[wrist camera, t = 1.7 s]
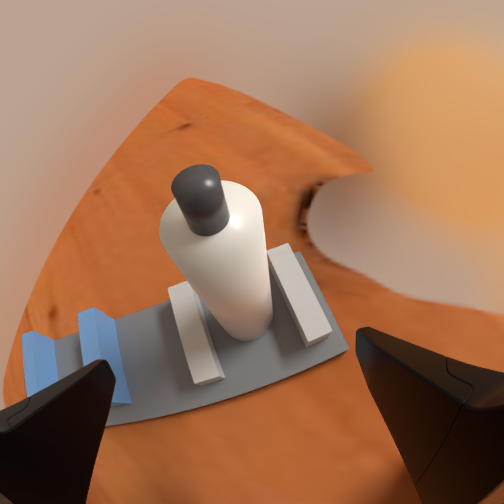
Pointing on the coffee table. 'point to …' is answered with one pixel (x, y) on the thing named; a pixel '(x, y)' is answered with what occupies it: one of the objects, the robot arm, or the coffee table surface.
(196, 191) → the bottle
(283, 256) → the slotted divider tray
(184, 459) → the coffee table surface
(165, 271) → the coffee table surface
